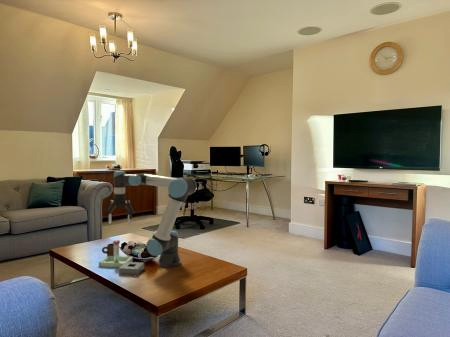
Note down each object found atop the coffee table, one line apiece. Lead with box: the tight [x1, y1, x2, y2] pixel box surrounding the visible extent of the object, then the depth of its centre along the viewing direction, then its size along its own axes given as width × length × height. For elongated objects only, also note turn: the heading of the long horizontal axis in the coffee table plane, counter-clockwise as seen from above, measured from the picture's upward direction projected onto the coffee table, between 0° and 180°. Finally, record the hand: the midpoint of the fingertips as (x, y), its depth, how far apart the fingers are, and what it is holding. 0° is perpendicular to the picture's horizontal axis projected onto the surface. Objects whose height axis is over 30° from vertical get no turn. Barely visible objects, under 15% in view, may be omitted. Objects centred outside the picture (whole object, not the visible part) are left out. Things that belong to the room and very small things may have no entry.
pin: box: [112, 239, 121, 263], centre depth 212 cm, size 4×4×15 cm
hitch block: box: [118, 261, 145, 276], centre depth 199 cm, size 12×12×4 cm
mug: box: [101, 242, 114, 257], centre depth 224 cm, size 12×8×9 cm, turn 140°
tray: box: [98, 255, 134, 269], centre depth 212 cm, size 18×14×3 cm
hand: (119, 223), depth 214 cm, fingers open, 13 cm apart
